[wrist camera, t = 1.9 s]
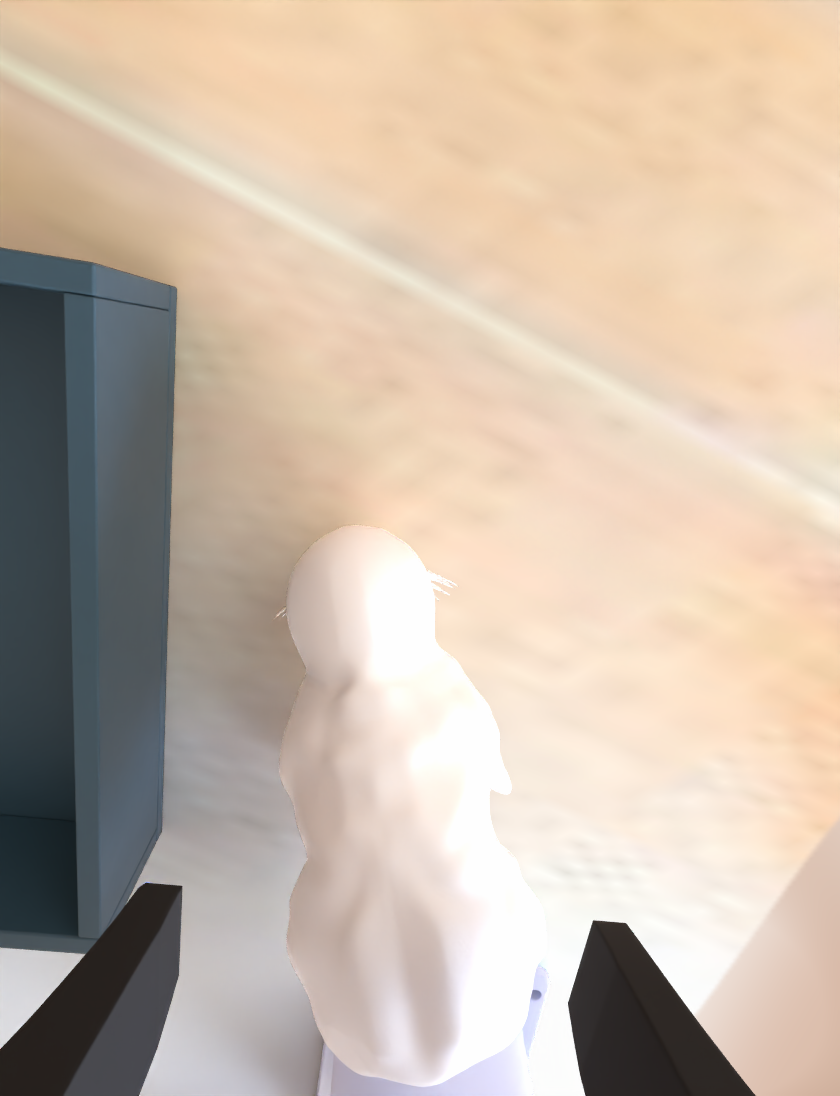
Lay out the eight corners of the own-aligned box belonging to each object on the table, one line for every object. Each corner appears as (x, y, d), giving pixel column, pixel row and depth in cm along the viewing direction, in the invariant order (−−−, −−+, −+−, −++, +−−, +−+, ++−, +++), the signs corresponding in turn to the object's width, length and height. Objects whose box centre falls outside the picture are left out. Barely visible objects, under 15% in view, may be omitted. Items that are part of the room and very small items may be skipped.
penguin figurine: (288, 1164, 13) (124, 621, 10) (335, 866, 21) (252, 528, 18) (590, 1114, 13) (502, 552, 10) (517, 835, 21) (459, 489, 18)
